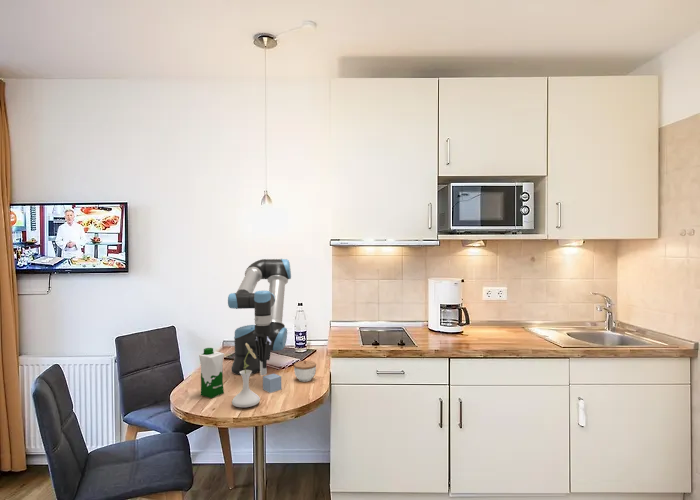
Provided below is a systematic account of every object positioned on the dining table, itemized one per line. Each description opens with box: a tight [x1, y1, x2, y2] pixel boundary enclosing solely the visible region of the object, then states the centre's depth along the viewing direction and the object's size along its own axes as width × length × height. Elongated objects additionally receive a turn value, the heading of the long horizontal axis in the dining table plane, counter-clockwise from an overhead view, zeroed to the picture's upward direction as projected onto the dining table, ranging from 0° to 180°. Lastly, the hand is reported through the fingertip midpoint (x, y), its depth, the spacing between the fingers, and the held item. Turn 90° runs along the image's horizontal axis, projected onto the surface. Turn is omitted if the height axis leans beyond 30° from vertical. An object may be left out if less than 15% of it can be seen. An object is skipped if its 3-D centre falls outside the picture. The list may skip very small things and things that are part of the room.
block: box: [262, 373, 283, 394], centre depth 188 cm, size 6×6×6 cm
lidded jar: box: [293, 360, 317, 383], centre depth 201 cm, size 11×11×9 cm
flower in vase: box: [231, 343, 261, 408], centre depth 171 cm, size 13×11×25 cm
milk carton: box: [198, 347, 225, 399], centre depth 182 cm, size 9×9×20 cm
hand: (263, 374), depth 192 cm, fingers closed
